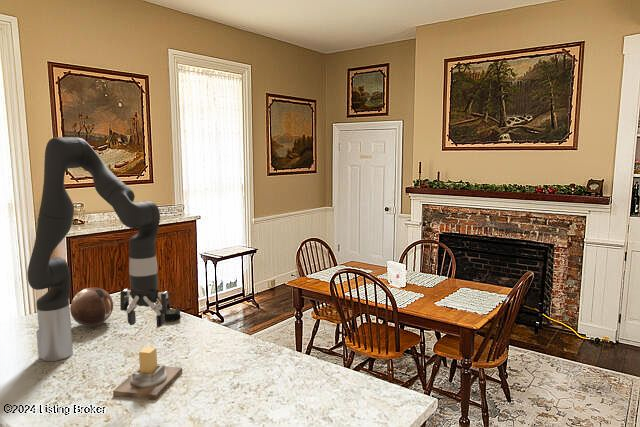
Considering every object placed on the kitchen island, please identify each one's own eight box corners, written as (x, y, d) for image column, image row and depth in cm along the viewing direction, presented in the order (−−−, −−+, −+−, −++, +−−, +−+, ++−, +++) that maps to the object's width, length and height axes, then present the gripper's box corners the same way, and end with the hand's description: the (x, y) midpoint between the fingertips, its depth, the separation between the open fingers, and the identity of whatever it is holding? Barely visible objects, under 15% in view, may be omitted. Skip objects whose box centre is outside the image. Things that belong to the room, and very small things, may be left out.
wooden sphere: (64, 326, 178) (61, 289, 176) (101, 315, 190) (98, 280, 188) (84, 335, 169) (81, 297, 167) (122, 323, 182) (119, 286, 179)
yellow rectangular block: (140, 377, 134) (138, 352, 133) (146, 372, 137) (145, 346, 136) (151, 378, 133) (150, 352, 132) (157, 373, 137) (156, 347, 136)
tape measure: (180, 321, 184) (180, 313, 183) (162, 323, 182) (162, 314, 181) (180, 316, 190) (180, 307, 190) (163, 317, 188) (162, 309, 187)
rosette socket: (113, 395, 129) (112, 380, 128) (143, 368, 145) (142, 355, 144) (156, 399, 127) (155, 384, 126) (182, 372, 143) (181, 358, 142)
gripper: (112, 273, 128) (116, 328, 131) (160, 276, 126) (162, 332, 128) (128, 266, 135) (130, 318, 138) (173, 269, 133) (175, 322, 136)
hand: (146, 325), depth 133 cm, fingers open, 8 cm apart
